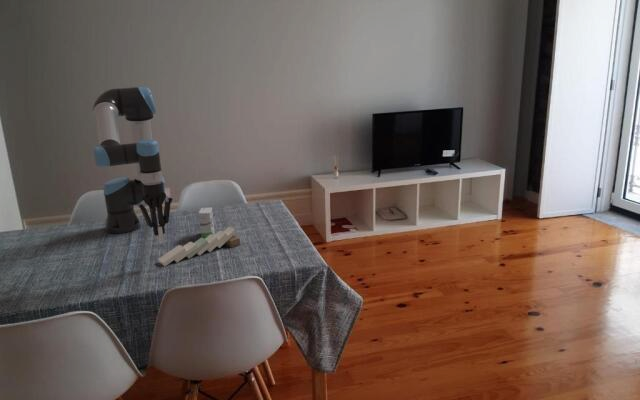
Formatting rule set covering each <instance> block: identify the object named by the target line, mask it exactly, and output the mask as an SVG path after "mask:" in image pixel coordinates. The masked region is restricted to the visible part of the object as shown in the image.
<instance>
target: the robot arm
mask: <svg viewBox="0 0 640 400" xmlns="http://www.w3.org/2000/svg"><path fill="white" fill-rule="evenodd" d="M92 106H93V107H92V112H93V117H94V118H95V120H96V126H97V136H98V145H99V146H95V147H94V148H93V156H94V162H95V165H96V166H97V167H99V168H100V167H101V168H102V167H103V168H104V167H114V166H120V165H130V164H135V168H136V173H135V175H134V178H133V179H130V178H129V177H128V176H127V177H126V176H123V177H116V178H114V179H111V180H109V181H107V182H105V183H104V184H103V186H102V187H103V196H104V200H105V206H106V213H107V217H106V222H105V231H106V233H109V234H125V233H129V232H132V231H135V230H138V229H139V228H140V227H141V221H140V219H139V217H138V215H137V214H136V211H135V209H134V206H137V207H138V208H139V209H140V210H141V213H142V216H143V219H144V220H145V223H146V225H147V226H148V227H150V228H152V231H153V235H154V236H156V241H157V243H158V244H165V239H164V234H165V233H166V230H165V226H166V225H167V224H168V223H169V221H170V214H171V203H172V202H173V198H172V197H171V196H167V194H166V186H165V185H166V183H165V177H164V176H163V173H162V172H163V171H162V165H161V164H162V163H161V158H160V157H161V155H160V147H159V143H158V141H157V140H155V139H154V138H153V133H152V132H153V131H152V125H151V124H152V120H154V115H155V114H156V113H157V109H156V105H155V101H154V98H153V94H152V91H151V89H150V88H149V87H146V86H142V87H141V86H135V87H133V86H132V87H123V88H111V89H108V90H104V92H102V93H101V94H100V95H99V96H98V97H97V98H96V100H95V101H94V103H93V105H92ZM118 117H125V121H126V122H128V123H129V126H130V132H131V139H132V143H131V142H130V143H126V144H125V143H121V140H120V133H119V126H118V125H119V124H118ZM163 203H164V206H163ZM146 205H147V206H148V207H149V208H148V209H149V212H150V215H149V212H148V209H147V208H146Z"/></svg>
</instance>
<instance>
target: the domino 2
mask: <svg viewBox="0 0 640 400" xmlns="http://www.w3.org/2000/svg"><path fill="white" fill-rule="evenodd" d="M194 243H195V242H192V241H189V242H188V243H187V242H186V243H185V245H182V247H184V248H185V249H186V252H185V253H183V254H182V255H181V256H179V257H178V258H176V259H175V260H173V261H174V262H175V263H179V262H181V260H183V259H185V258H187V257H186V256H187V255H188V254H190V253H191V252H193V251H194V250H195V249H197V248H198V247H197V245H196V244H194Z"/></svg>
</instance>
